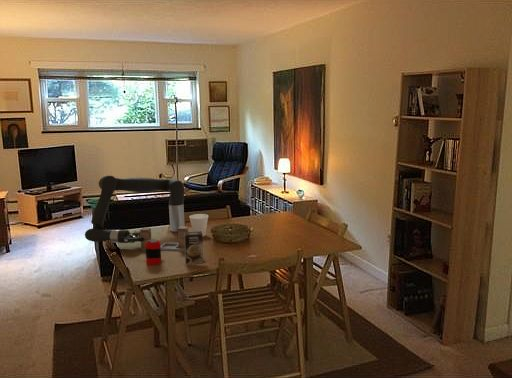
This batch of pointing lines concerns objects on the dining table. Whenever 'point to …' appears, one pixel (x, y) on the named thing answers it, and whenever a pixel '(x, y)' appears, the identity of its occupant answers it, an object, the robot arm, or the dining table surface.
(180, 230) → the seated billet
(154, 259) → the soda can
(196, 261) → the coffee box
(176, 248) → the grey slotted tray
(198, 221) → the cup
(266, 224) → the dining table surface
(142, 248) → the block
